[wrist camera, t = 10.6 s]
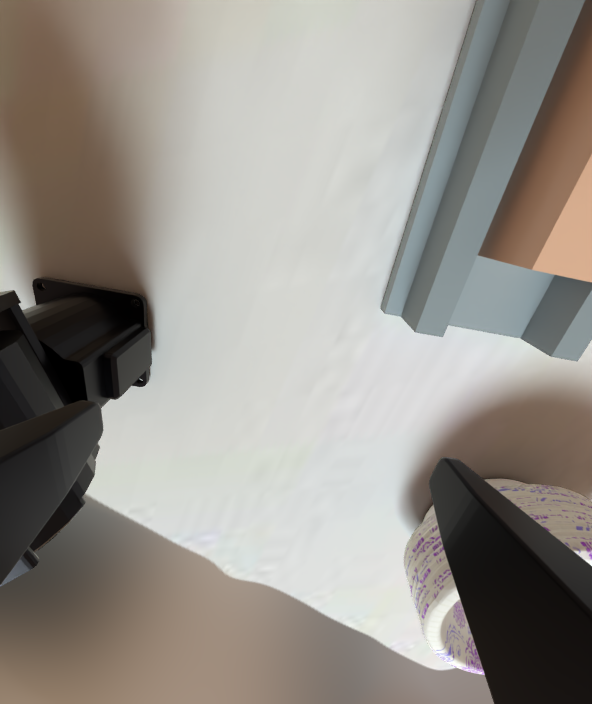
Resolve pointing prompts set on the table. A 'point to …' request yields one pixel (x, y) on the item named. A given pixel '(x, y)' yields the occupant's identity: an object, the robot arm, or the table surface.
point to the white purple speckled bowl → (437, 581)
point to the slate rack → (488, 190)
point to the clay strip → (553, 175)
